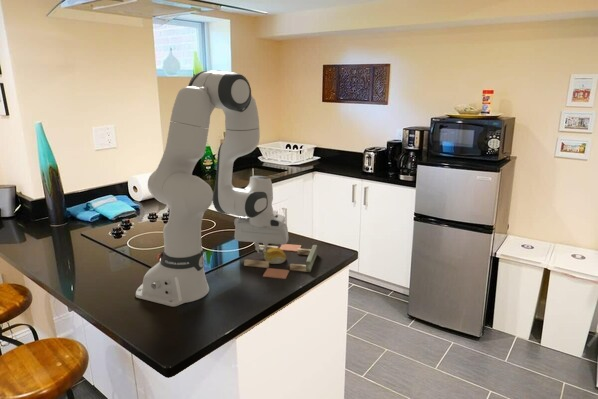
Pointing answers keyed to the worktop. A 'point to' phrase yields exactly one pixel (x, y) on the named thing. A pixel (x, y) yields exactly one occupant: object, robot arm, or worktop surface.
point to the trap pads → (279, 272)
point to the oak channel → (296, 267)
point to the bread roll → (275, 256)
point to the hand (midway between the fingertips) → (261, 252)
